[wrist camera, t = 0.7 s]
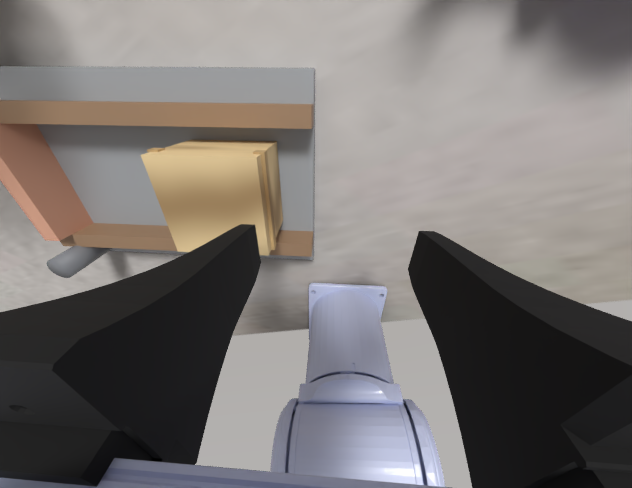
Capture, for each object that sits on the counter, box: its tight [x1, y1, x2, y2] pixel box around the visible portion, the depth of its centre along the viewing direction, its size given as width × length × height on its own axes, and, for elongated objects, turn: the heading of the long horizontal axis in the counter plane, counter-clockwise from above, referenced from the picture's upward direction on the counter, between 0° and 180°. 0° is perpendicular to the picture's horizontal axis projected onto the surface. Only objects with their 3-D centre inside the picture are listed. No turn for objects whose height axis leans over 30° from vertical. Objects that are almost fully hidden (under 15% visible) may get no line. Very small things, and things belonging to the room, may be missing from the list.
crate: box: [141, 140, 283, 256], centre depth 15 cm, size 6×6×5 cm
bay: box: [0, 66, 315, 278], centre depth 16 cm, size 14×21×5 cm, turn 89°
